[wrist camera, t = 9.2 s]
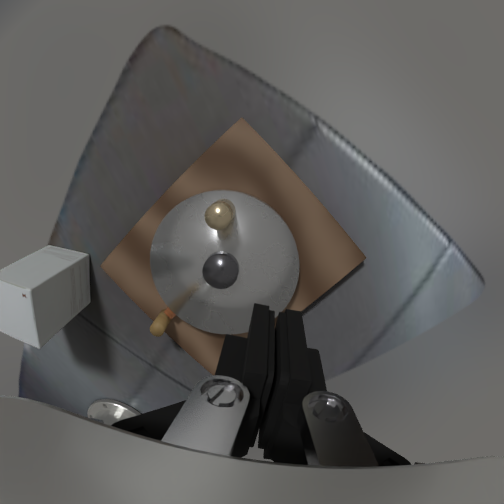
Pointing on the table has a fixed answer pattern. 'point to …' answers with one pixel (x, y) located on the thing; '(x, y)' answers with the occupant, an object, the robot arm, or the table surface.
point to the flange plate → (223, 260)
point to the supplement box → (43, 293)
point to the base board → (258, 185)
